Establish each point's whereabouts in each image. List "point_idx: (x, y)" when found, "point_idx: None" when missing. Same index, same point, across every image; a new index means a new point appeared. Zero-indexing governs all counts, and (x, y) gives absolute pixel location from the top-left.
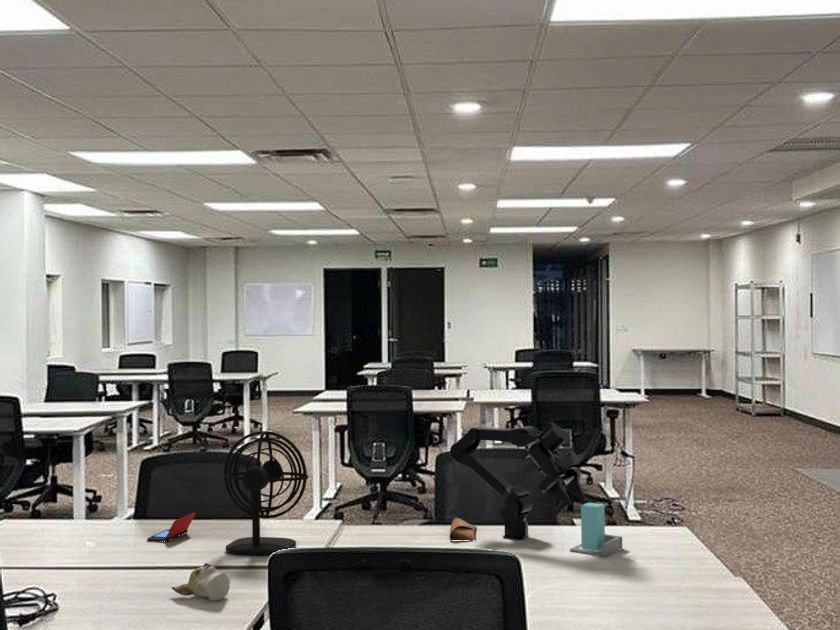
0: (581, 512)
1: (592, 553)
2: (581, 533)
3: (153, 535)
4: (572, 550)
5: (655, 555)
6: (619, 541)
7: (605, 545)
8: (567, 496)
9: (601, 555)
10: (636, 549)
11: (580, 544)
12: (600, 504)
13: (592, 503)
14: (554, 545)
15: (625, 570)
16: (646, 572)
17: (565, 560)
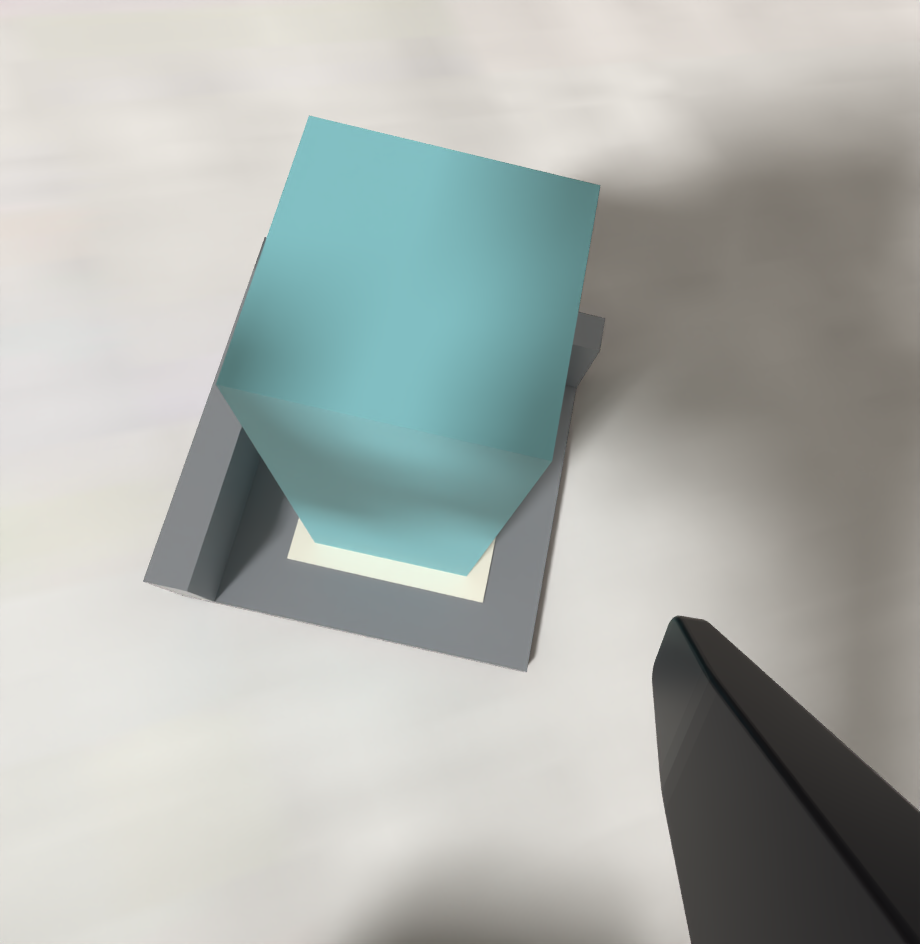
0: (526, 489)
1: (563, 460)
2: (483, 553)
3: None
4: (529, 646)
5: (384, 82)
6: None
7: (594, 319)
8: (816, 729)
9: (573, 389)
10: (268, 203)
11: (334, 623)
12: (330, 167)
13: (292, 303)
14: (381, 888)
15: (805, 199)
16: (779, 94)
17: (801, 625)
